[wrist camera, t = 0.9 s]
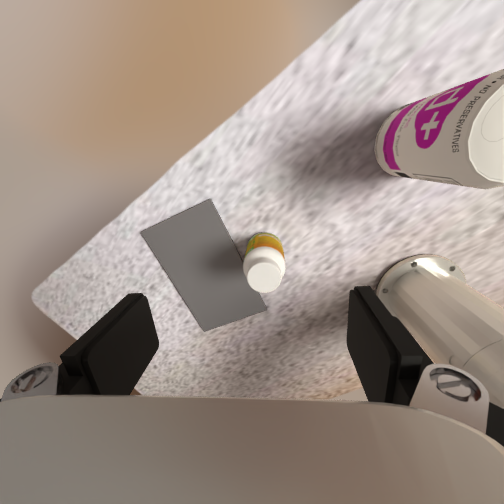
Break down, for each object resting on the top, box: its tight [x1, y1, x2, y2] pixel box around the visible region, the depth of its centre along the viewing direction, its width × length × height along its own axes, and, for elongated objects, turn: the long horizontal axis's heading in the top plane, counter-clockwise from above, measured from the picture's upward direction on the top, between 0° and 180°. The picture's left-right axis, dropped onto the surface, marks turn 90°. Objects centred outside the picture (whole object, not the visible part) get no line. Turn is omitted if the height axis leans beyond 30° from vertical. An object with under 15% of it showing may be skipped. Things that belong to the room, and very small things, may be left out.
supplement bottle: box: [243, 232, 286, 293], centre depth 32 cm, size 5×5×10 cm
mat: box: [141, 199, 267, 332], centre depth 38 cm, size 20×12×1 cm, turn 25°
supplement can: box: [374, 69, 504, 189], centre depth 23 cm, size 8×8×15 cm
